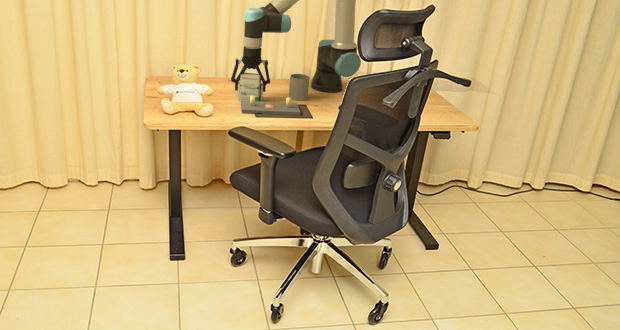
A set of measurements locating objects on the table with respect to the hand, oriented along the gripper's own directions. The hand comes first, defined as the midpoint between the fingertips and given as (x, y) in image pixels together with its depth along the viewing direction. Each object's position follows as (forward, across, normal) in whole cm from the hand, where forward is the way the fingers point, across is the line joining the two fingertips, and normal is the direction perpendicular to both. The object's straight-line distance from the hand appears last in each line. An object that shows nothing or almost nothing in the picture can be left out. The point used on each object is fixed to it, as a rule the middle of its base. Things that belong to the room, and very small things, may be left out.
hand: (249, 98), depth 260 cm
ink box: (+1, 0, 0) cm, 1 cm away
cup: (+1, -22, -7) cm, 23 cm away
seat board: (+1, -8, +11) cm, 14 cm away
